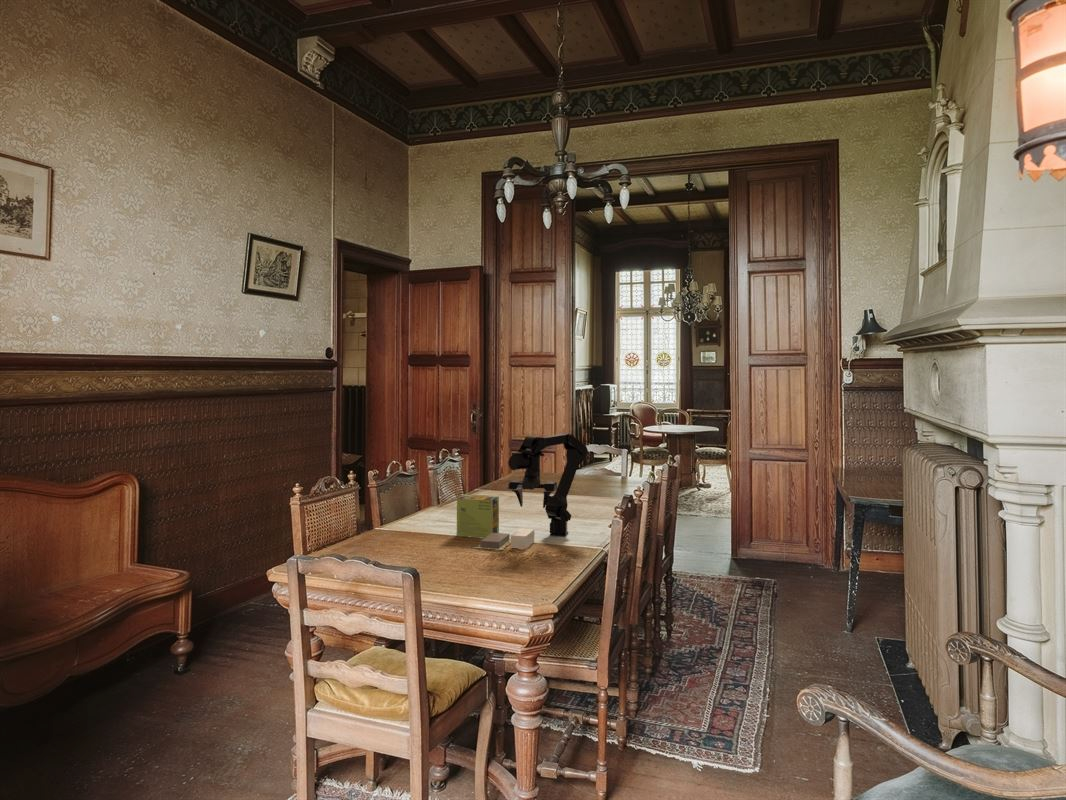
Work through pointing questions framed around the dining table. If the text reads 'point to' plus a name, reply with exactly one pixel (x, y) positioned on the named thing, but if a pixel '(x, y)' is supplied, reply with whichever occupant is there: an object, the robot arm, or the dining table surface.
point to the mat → (495, 548)
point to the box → (522, 538)
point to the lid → (494, 540)
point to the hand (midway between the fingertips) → (532, 507)
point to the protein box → (477, 515)
